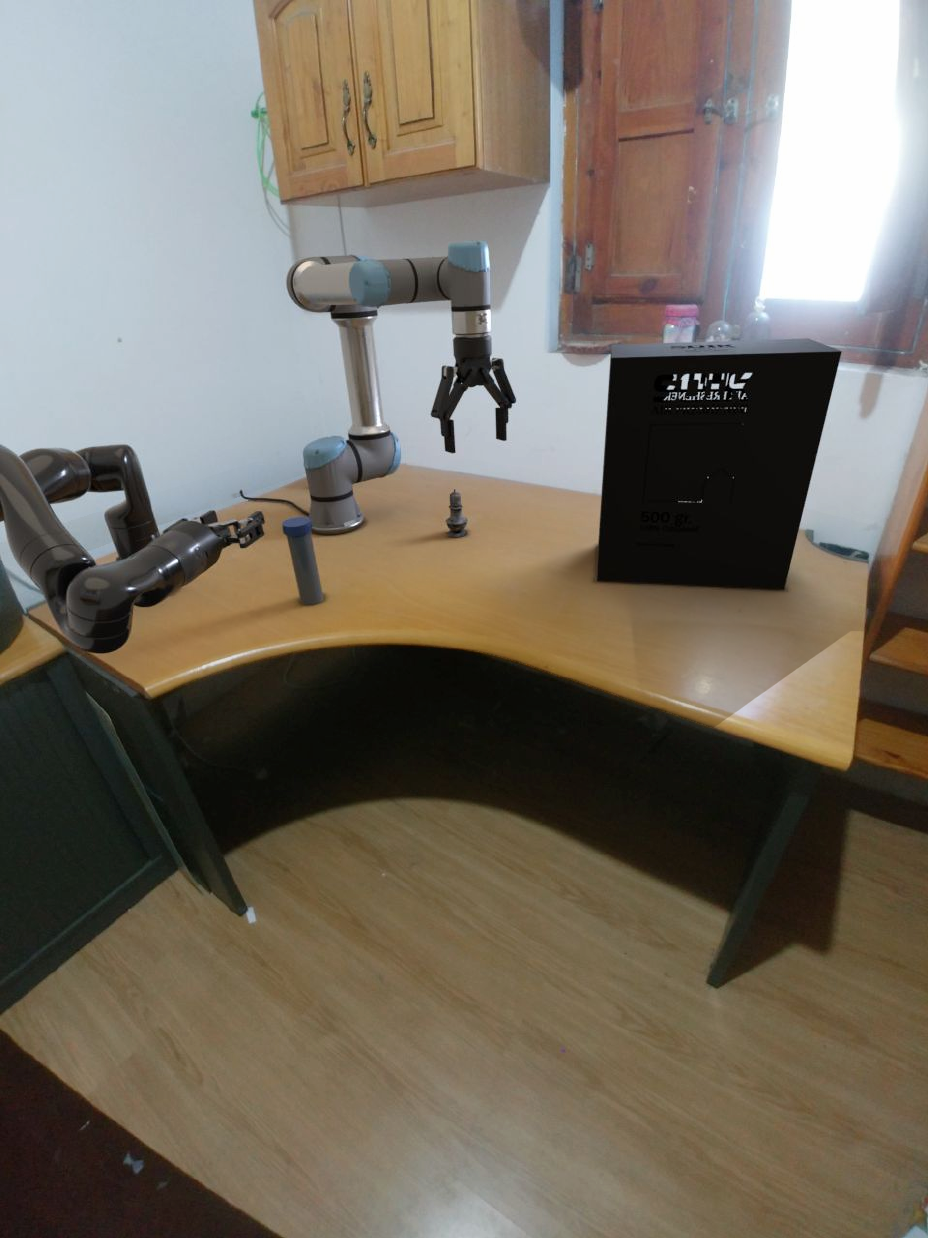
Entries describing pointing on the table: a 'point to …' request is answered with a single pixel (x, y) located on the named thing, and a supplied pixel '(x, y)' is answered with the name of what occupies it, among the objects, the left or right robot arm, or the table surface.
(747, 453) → the cardboard box
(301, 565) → the jar
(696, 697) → the table surface
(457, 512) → the salt shaker
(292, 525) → the lid
